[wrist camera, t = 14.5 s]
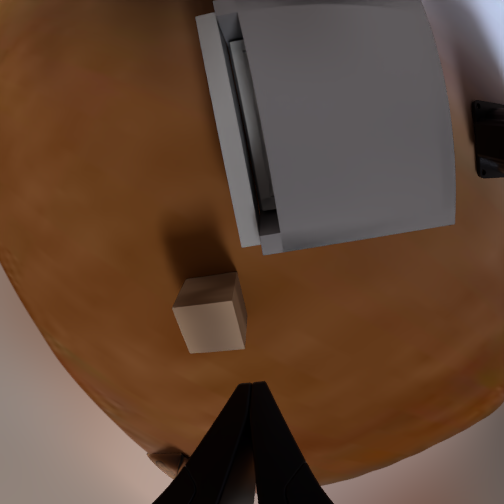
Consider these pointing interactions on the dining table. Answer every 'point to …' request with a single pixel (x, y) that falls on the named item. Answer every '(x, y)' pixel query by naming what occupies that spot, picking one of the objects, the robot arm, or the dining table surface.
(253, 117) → the tray
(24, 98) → the dining table surface
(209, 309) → the walnut block
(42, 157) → the dining table surface
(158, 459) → the sunglasses case
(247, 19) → the grey drawer cabinet
